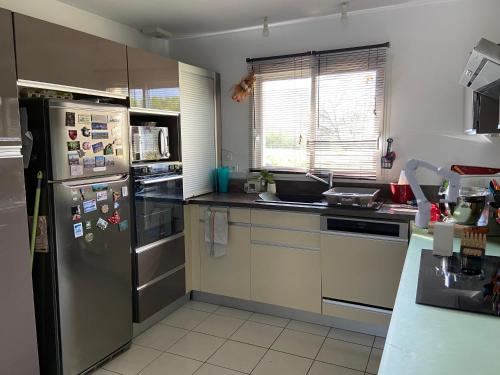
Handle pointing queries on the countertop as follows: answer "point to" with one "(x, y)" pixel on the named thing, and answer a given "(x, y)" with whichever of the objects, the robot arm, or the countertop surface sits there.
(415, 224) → the robot arm
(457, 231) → the storage box
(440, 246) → the skincare box
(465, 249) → the ammunition clip
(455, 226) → the lid
